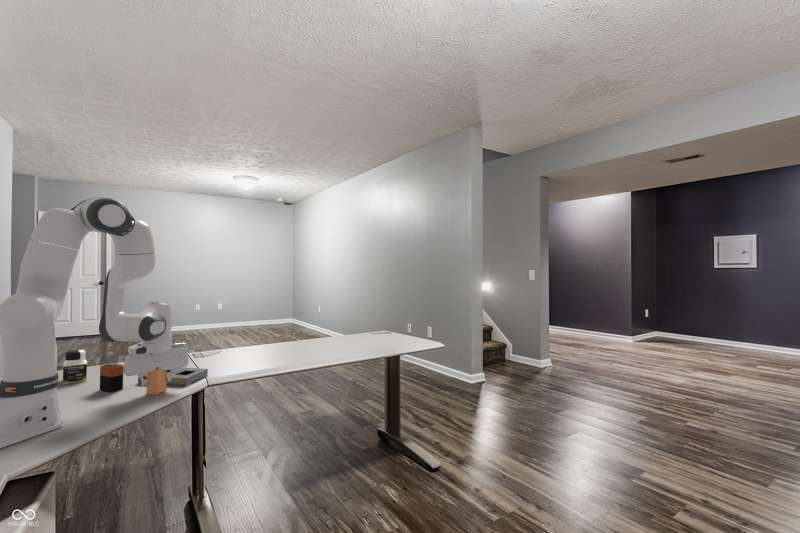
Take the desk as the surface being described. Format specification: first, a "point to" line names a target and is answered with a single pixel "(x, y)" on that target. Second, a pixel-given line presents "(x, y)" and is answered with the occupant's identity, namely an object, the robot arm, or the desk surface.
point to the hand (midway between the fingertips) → (156, 383)
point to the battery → (111, 377)
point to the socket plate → (183, 376)
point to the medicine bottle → (74, 367)
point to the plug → (156, 381)
